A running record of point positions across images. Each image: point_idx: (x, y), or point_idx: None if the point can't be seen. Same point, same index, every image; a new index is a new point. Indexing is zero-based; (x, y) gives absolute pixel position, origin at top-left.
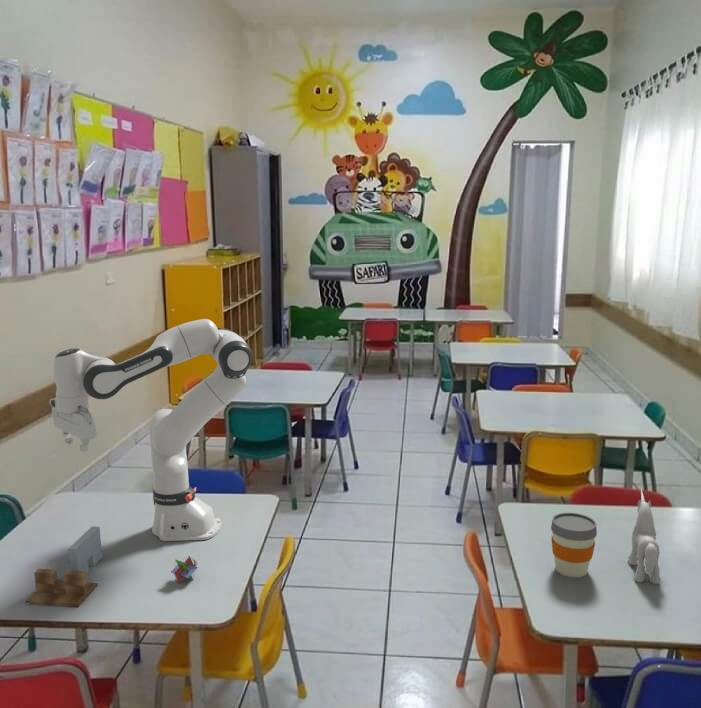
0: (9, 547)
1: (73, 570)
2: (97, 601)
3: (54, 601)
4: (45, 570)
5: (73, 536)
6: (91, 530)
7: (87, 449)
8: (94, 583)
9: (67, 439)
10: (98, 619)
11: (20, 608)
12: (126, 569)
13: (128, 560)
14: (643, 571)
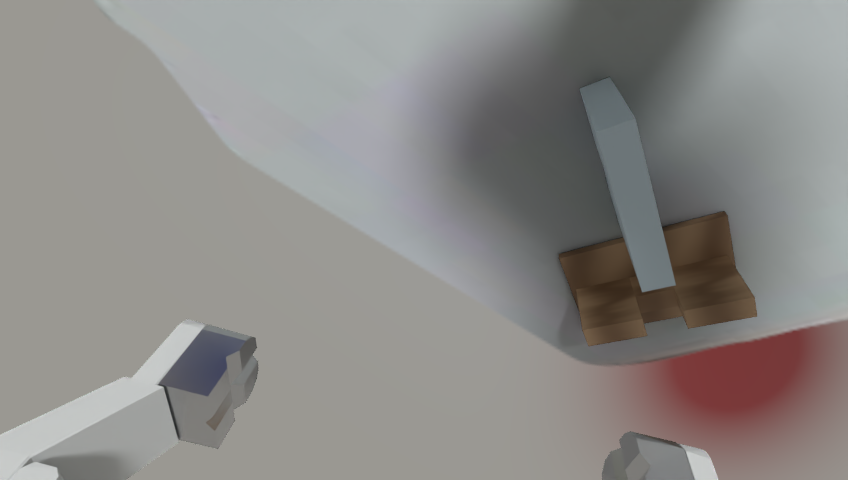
0: (283, 176)
1: (703, 306)
2: (780, 265)
3: (664, 315)
4: (613, 331)
5: (373, 15)
6: (624, 160)
7: (704, 463)
8: (719, 222)
9: (217, 443)
10: (836, 316)
11: None
12: (770, 96)
13: (736, 41)
14: None
